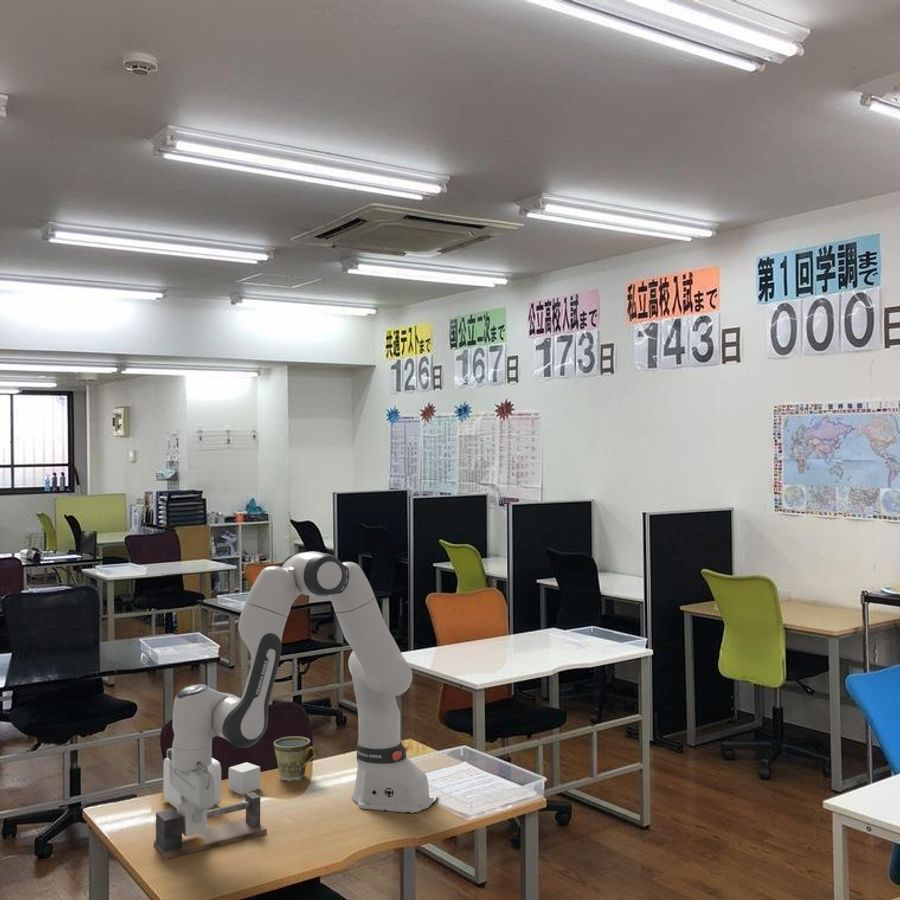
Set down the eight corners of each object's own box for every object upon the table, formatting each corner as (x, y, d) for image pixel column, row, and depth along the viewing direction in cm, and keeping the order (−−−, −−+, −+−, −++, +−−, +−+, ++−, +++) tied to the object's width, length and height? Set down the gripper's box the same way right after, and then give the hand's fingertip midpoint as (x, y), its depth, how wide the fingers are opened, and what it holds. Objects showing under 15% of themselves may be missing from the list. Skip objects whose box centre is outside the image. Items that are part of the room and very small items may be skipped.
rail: (251, 821, 226) (251, 788, 226) (266, 833, 218) (266, 799, 219) (153, 845, 212) (153, 810, 212) (166, 858, 204) (166, 822, 205)
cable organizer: (161, 800, 240) (161, 755, 240) (199, 790, 247) (199, 747, 247) (184, 817, 228) (184, 770, 228) (223, 807, 235) (223, 761, 235)
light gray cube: (242, 795, 244) (242, 772, 244) (228, 790, 247) (228, 767, 247) (260, 788, 248) (260, 766, 248) (246, 783, 252) (246, 762, 252)
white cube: (198, 823, 216) (198, 799, 216) (207, 831, 212) (207, 807, 212) (177, 828, 213) (177, 804, 213) (185, 836, 209) (185, 812, 209)
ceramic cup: (266, 780, 254) (266, 744, 254) (286, 769, 263) (286, 734, 264) (306, 787, 249) (306, 750, 249) (325, 775, 258) (325, 739, 258)
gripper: (222, 766, 206) (221, 828, 206) (190, 743, 223) (189, 800, 222) (194, 772, 202) (194, 835, 202) (164, 748, 219) (163, 806, 219)
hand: (191, 816), depth 212 cm, fingers closed on white cube, 5 cm apart
